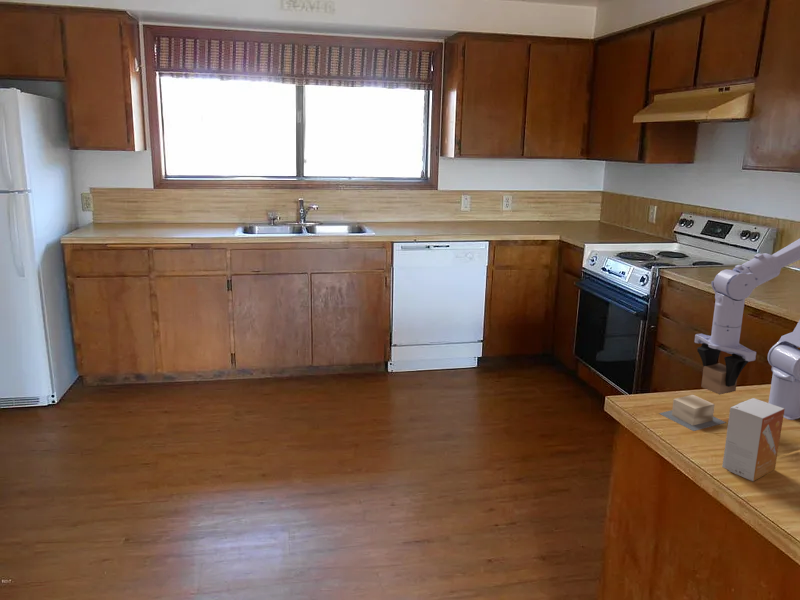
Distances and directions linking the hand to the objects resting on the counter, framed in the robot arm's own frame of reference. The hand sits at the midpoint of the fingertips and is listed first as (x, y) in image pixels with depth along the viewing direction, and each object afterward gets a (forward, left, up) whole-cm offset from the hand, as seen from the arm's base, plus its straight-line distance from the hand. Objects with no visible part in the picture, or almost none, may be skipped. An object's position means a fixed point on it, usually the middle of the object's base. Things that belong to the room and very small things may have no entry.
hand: (719, 381), depth 145 cm
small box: (+14, +20, -9) cm, 26 cm away
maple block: (+6, -1, -8) cm, 10 cm away
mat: (+6, -1, -9) cm, 11 cm away
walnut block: (0, 0, -2) cm, 2 cm away
